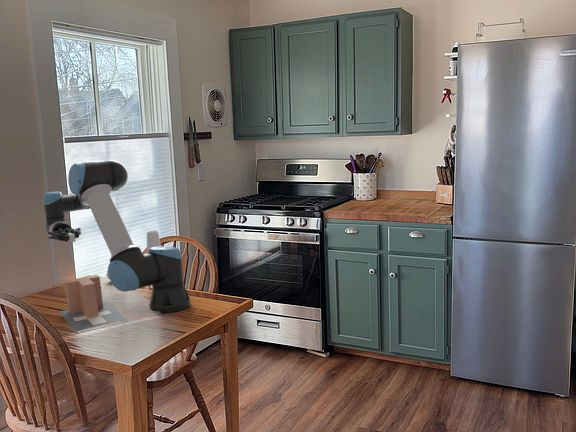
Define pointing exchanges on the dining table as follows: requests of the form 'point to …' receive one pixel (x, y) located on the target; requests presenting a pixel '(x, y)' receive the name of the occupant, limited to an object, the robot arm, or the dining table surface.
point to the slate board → (93, 318)
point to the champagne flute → (153, 240)
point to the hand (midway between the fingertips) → (73, 238)
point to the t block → (84, 295)
